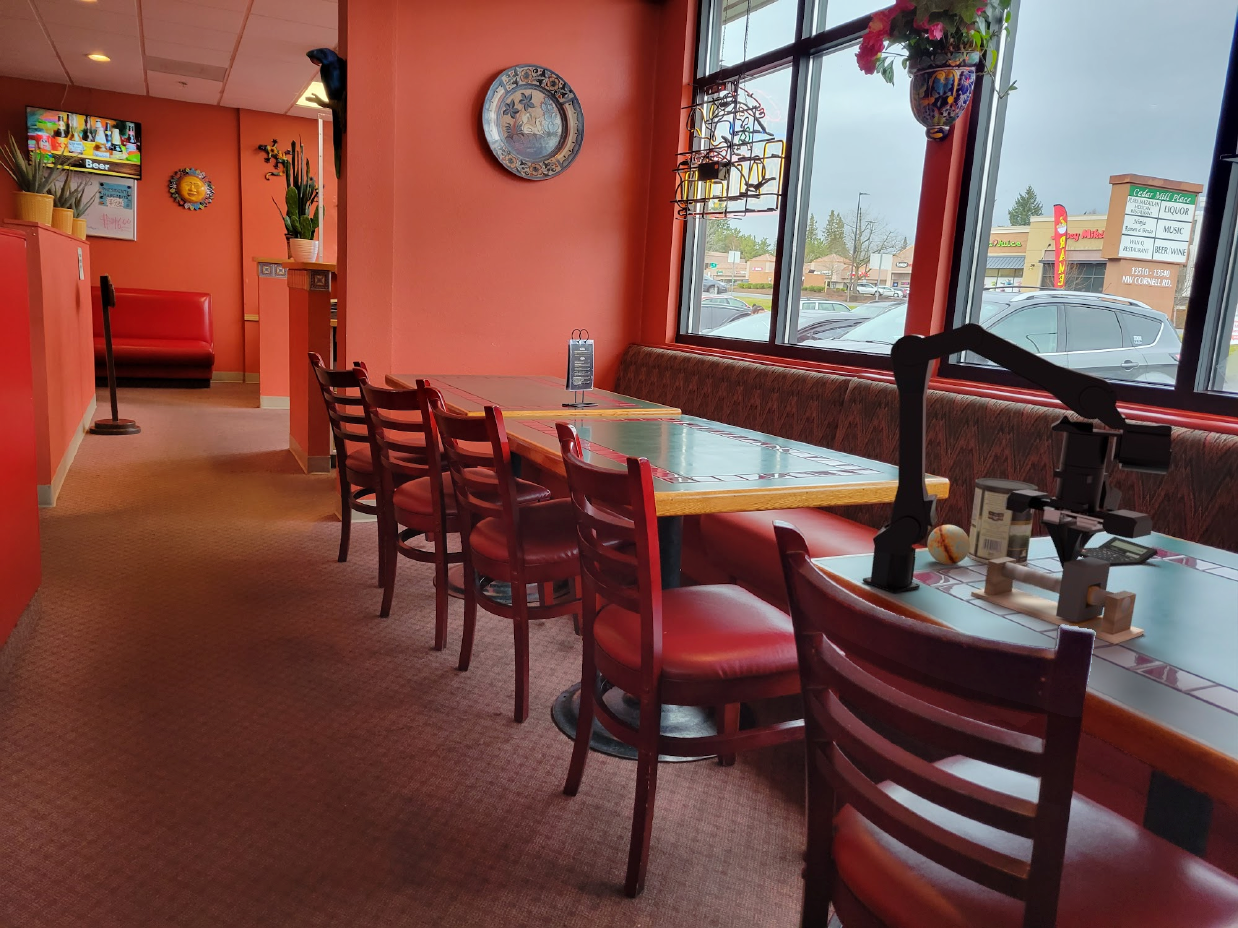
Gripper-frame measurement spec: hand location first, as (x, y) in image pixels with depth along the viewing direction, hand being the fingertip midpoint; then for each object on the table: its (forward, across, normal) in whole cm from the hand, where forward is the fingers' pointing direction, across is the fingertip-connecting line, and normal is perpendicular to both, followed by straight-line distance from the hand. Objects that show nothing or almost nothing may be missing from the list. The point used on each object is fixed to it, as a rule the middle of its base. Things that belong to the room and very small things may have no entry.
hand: (1066, 569), depth 126 cm
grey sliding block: (+6, -3, 0) cm, 7 cm away
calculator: (+8, +14, -43) cm, 46 cm away
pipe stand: (+7, +1, 0) cm, 7 cm away
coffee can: (+7, +23, -20) cm, 31 cm away
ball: (+7, +25, -8) cm, 27 cm away
